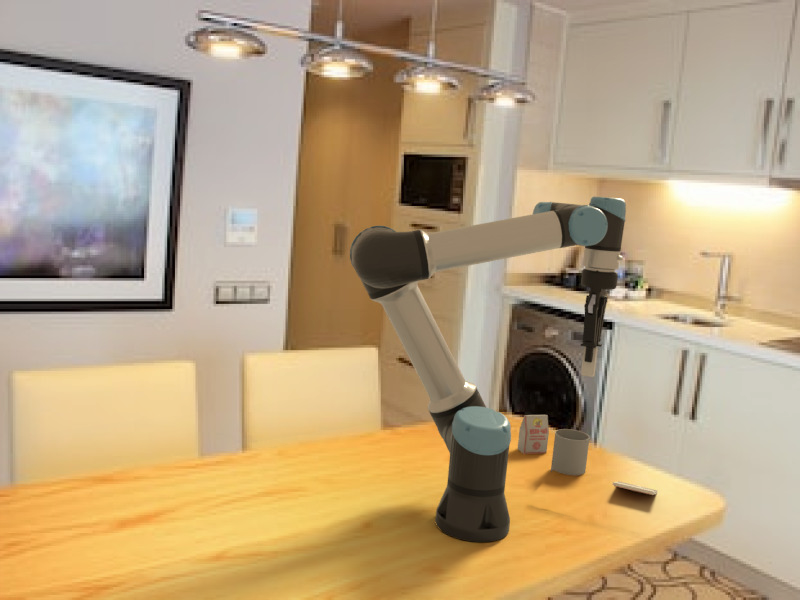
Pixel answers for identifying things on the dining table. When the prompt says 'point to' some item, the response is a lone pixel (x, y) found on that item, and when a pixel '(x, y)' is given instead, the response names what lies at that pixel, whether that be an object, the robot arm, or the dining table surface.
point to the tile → (635, 488)
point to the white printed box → (533, 434)
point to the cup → (570, 452)
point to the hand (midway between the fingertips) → (587, 375)
